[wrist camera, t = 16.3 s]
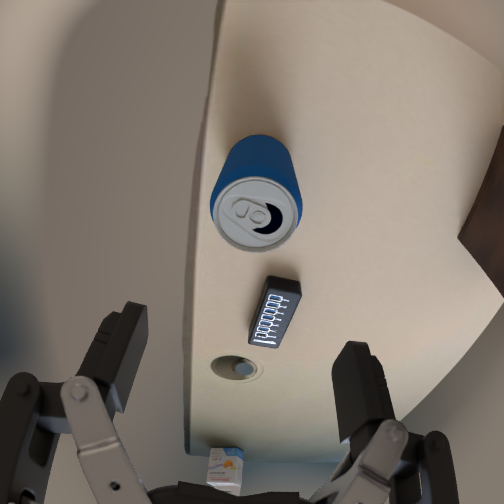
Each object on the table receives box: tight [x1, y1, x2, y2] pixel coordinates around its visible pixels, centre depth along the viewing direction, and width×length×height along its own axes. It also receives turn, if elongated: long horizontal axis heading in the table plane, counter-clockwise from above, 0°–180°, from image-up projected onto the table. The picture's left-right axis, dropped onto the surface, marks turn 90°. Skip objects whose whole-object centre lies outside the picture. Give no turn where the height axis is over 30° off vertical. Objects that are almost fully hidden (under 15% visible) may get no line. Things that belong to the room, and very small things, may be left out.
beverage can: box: [210, 135, 303, 253], centre depth 25 cm, size 6×6×12 cm
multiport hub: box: [248, 276, 302, 348], centre depth 40 cm, size 4×11×2 cm, turn 167°
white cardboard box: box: [207, 447, 244, 496], centre depth 68 cm, size 8×5×15 cm, turn 111°
